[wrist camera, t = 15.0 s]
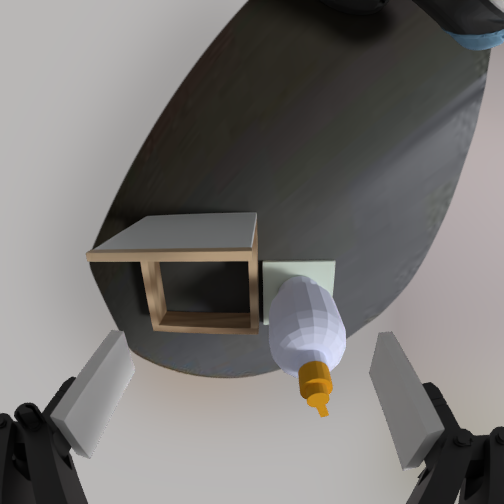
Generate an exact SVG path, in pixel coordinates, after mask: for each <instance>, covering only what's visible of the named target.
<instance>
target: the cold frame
mask: <svg viewBox="0 0 504 504" xmlns="http://www.w3.org/2000/svg"><path fill="white" fill-rule="evenodd" d="M252 247H253V259H252V261H248V263H249V291H250V313H210V312H176V311H167V309H166V303H165V297H164V291H163V285H162V279H161V272H160V265H159V262H141V268H142V274H143V280H144V286H145V291H146V296H147V301H148V306H149V311H150V316H151V321H152V325H153V330H154V331H168V332H186V333H210V334H258V331H259V286H258V243H257V219H256V226H255V232H254V239H253V245H252Z"/></svg>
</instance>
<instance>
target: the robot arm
mask: <svg viewBox="0 0 504 504" xmlns="http://www.w3.org/2000/svg"><path fill="white" fill-rule="evenodd" d="M320 1H321V2H323V3H324V4H326V5H327V6H329V7H331V8H333V9H335V10H338V11H341V12H344V13H348V14H353V15H369V14H373V13H376V12H378V11H380V10H381V9H382V8H383V7H384V6H385V5H386V4H387V3H388V2H389V0H320ZM412 1H413V2H414V3H416V4H417V5H418V6H419V7H420V8H421V9H423V10H424V11H425V12H426V13H427V14H428V15H429V16H430V17H431V18H432V19H434V20H435V21H436V22H437V23H438V24H439V25H440V27H441V28H442V29H443V30H444V31H445V32H446V33H448V34H450V35H451V36H452V37H453V38H454V39H455V40H456V41H457V42H458V43H459V44H460V45H461V46H463V47H465V48H467V49H471V50H484V49H489V48H492V47H495V46H498V45H500V44H502V43H503V41H504V0H412ZM134 372H135V367H134V364H133V361H132V358H131V354H130V351H129V348H128V344H127V341H126V338H125V334H124V331H115V330H112V331H111V332H110V333H109V334H108V336H107V337H106V338H105V340H104V341H103V342H102V344H101V345H100V346H99V348H98V349H97V350H96V352H95V353H94V354H93V356H92V357H91V359H90V360H89V361H88V362H87V364H86V365H85V367H84V368H83V369H82V371H81V372H80V373H79V375H78V376H77V378H76V377H71V378H69V379H68V380H67V381H65V382H64V383H63V384H62V386H61V387H60V388H59V391H57V393H56V394H55V396H54V397H53V398H52V400H51V401H50V402H49V404H48V405H47V407H46V408H45V410H44V411H43V412H42V413H41V412H40V410H39V409H38V407H37V406H36V405H35V404H33V403H24V404H22V405H20V406H19V407H18V408H17V409H16V411H15V413H14V417H15V418H16V420H17V421H18V422H15V421H13V420H12V419H11V417H10V416H9V415H8V414H5V413H1V414H0V504H88V502H87V499H86V497H85V495H84V492H83V489H82V486H81V484H80V481H79V478H78V476H77V472H76V469H75V467H74V463H73V460H72V456H71V455H70V453H69V451H70V449H71V447H72V448H73V450H74V451H75V452H76V454H78V455H81V456H83V457H86V458H89V459H90V458H91V456H92V454H93V452H94V450H95V448H96V446H97V444H98V442H99V440H100V438H101V436H102V434H103V432H104V430H105V428H106V426H107V424H108V422H109V420H110V418H111V416H112V414H113V412H114V410H115V408H116V406H117V404H118V402H119V401H120V399H121V396H122V395H123V393H124V391H125V389H126V387H127V385H128V383H129V381H130V380H131V378H132V376H133V374H134ZM369 374H370V377H371V380H372V382H373V385H374V388H375V390H376V393H377V396H378V398H379V401H380V404H381V406H382V410H383V412H384V415H385V417H386V421H387V424H388V427H389V430H390V432H391V435H392V438H393V441H394V444H395V447H396V450H397V454H398V457H399V460H400V463H401V466H402V469H403V471H405V470H408V469H412V468H416V467H419V466H420V464H421V463H422V462H423V460H424V461H425V463H426V468H425V469H424V470H423V471H422V472H421V474H420V475H419V476H418V478H419V480H418V482H417V484H416V486H415V488H414V490H413V492H412V494H411V496H410V498H409V499H408V501H407V503H406V504H454V503H455V500H456V498H457V495H458V493H459V490H460V496H459V503H458V504H504V427H502V426H501V427H496V428H495V429H493V431H492V432H491V433H490V435H479V436H475V435H473V434H472V433H471V432H470V431H468V430H466V429H461V428H460V427H459V425H458V423H457V421H456V419H455V417H454V415H453V414H452V412H451V410H450V408H449V406H448V405H447V403H446V401H445V399H444V398H443V395H442V394H441V392H440V390H439V388H437V387H436V386H435V385H434V384H433V383H431V382H429V383H424V384H422V383H421V382H420V380H419V378H418V376H417V374H416V372H415V371H414V369H413V367H412V365H411V363H410V362H409V360H408V358H407V356H406V355H405V353H404V351H403V349H402V348H401V346H400V344H399V342H398V341H397V339H396V337H395V336H394V334H393V332H382V333H379V334H378V338H377V343H376V348H375V351H374V356H373V360H372V364H371V367H370V372H369ZM460 488H461V489H460Z"/></svg>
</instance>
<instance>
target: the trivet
mask: <svg viewBox="0 0 504 504" xmlns="http://www.w3.org/2000/svg"><path fill="white" fill-rule="evenodd" d="M334 274H335V260H269V261H263V314H264V325H269V310H270V307H271V303H272V300H273V299H274V298H275V297H276V295H277V294H278V291H279V288H280V287H281V286H282V284H283V283H284V282H285V281H287V280H288V279H290V278H292V277H297V276H304V277H309V278H311V279H312V280H314V281H315V282H317V284H318V285H319V286H321V287H322V288H324V289H325V290H327V291H328V292H329V293H330V295H331V297H332V296H333V285H334Z"/></svg>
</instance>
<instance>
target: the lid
mask: <svg viewBox="0 0 504 504" xmlns="http://www.w3.org/2000/svg"><path fill="white" fill-rule="evenodd" d="M256 219H257V212H243V213H206V214H180V215H158V216H146V217H145V218H143V219H141V220H140V221H138V222H136V223H135V224H133V225H131V226H130V227H128V228H127V229H125V230H123V231H122V232H120V233H119V234H117V235H115V236H114V237H112V238H111V239H109V240H108V241H106V242H105V243H103V244H102V245H100V246H99V247H97V248H95V249H94V250H90V251H88V252H87V253H86V257H87V261H92V262H170V261H252V259H253V247H252V245H253V239H254V232H255V226H256Z"/></svg>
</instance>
